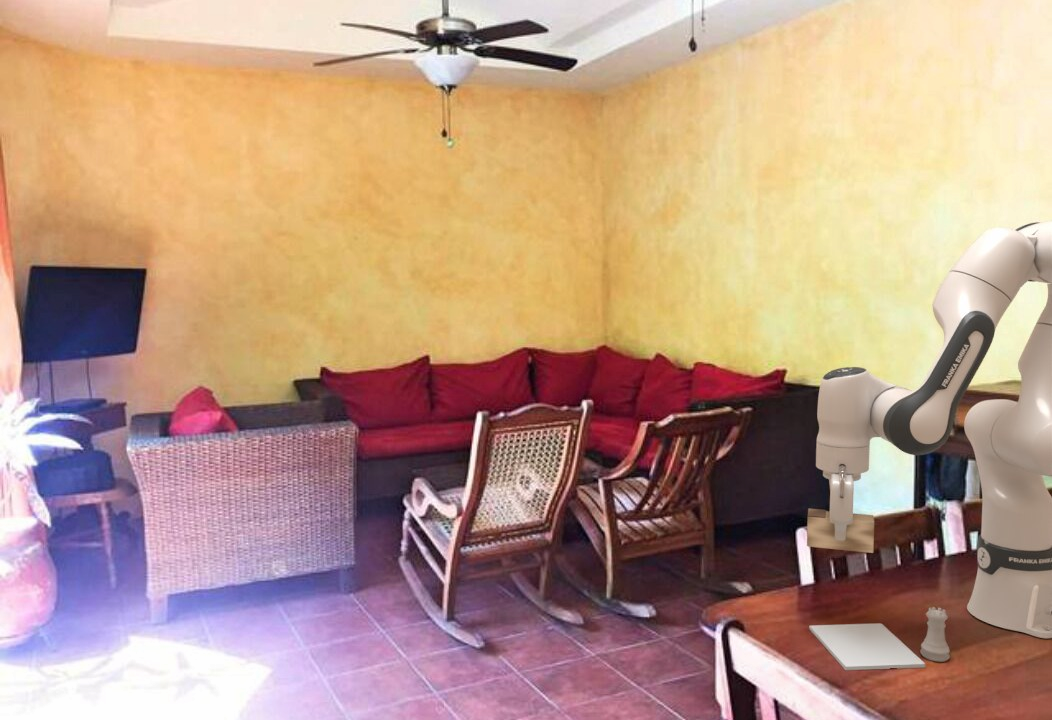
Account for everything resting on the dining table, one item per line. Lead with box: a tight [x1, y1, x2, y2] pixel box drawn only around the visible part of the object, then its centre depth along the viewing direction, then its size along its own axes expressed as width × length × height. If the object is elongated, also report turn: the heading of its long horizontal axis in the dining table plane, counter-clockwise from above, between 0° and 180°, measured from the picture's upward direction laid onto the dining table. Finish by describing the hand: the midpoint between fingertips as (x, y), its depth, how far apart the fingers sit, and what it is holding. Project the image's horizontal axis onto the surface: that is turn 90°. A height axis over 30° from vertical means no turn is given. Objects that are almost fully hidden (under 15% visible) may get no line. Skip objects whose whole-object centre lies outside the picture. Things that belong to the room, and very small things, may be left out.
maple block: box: [806, 508, 875, 554], centre depth 147 cm, size 11×4×6 cm, turn 69°
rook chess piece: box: [919, 606, 951, 663], centre depth 135 cm, size 4×4×8 cm
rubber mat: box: [808, 622, 926, 671], centre depth 139 cm, size 13×15×1 cm
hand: (840, 534), depth 147 cm, fingers closed on maple block, 4 cm apart
